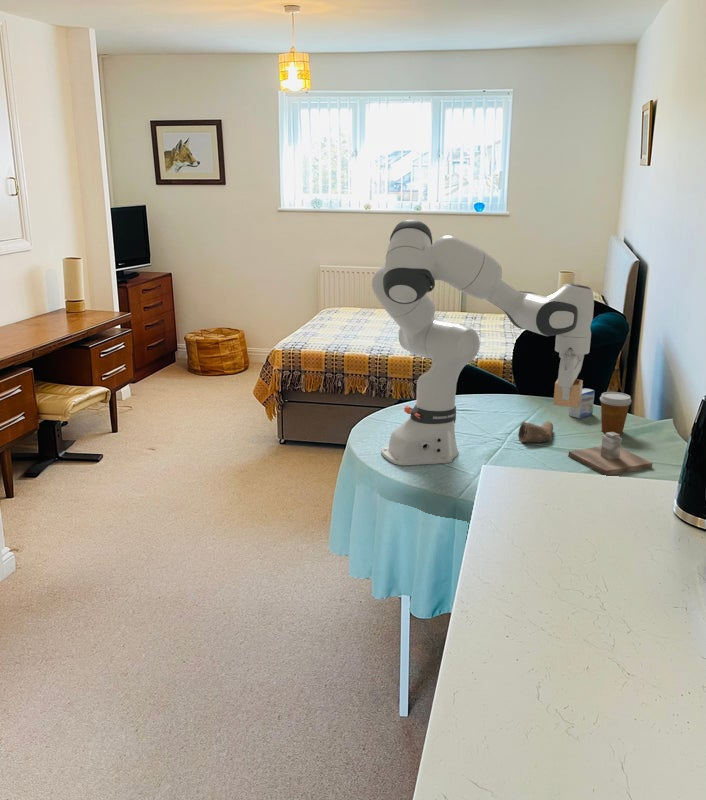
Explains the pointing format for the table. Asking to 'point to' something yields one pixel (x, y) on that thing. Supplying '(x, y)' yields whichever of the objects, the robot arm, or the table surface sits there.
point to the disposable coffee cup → (614, 411)
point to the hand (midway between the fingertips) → (567, 395)
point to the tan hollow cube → (574, 395)
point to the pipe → (535, 432)
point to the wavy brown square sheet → (610, 457)
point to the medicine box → (583, 405)
